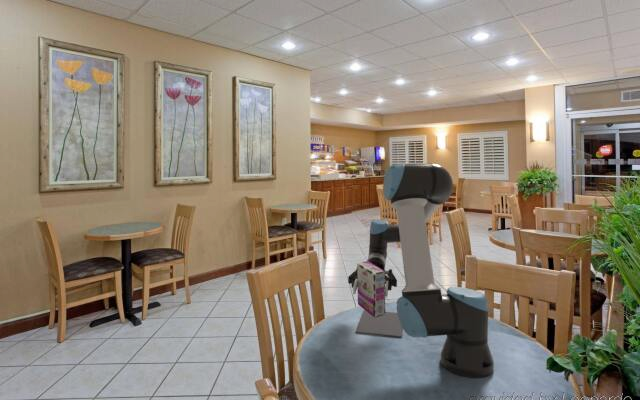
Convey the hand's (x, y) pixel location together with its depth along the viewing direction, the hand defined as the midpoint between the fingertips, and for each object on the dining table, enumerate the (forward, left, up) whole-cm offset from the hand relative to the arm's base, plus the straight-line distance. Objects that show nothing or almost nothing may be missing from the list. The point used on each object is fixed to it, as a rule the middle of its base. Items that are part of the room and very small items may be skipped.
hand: (370, 291), depth 125 cm
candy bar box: (0, -5, -8) cm, 9 cm away
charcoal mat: (-2, -18, -18) cm, 26 cm away
